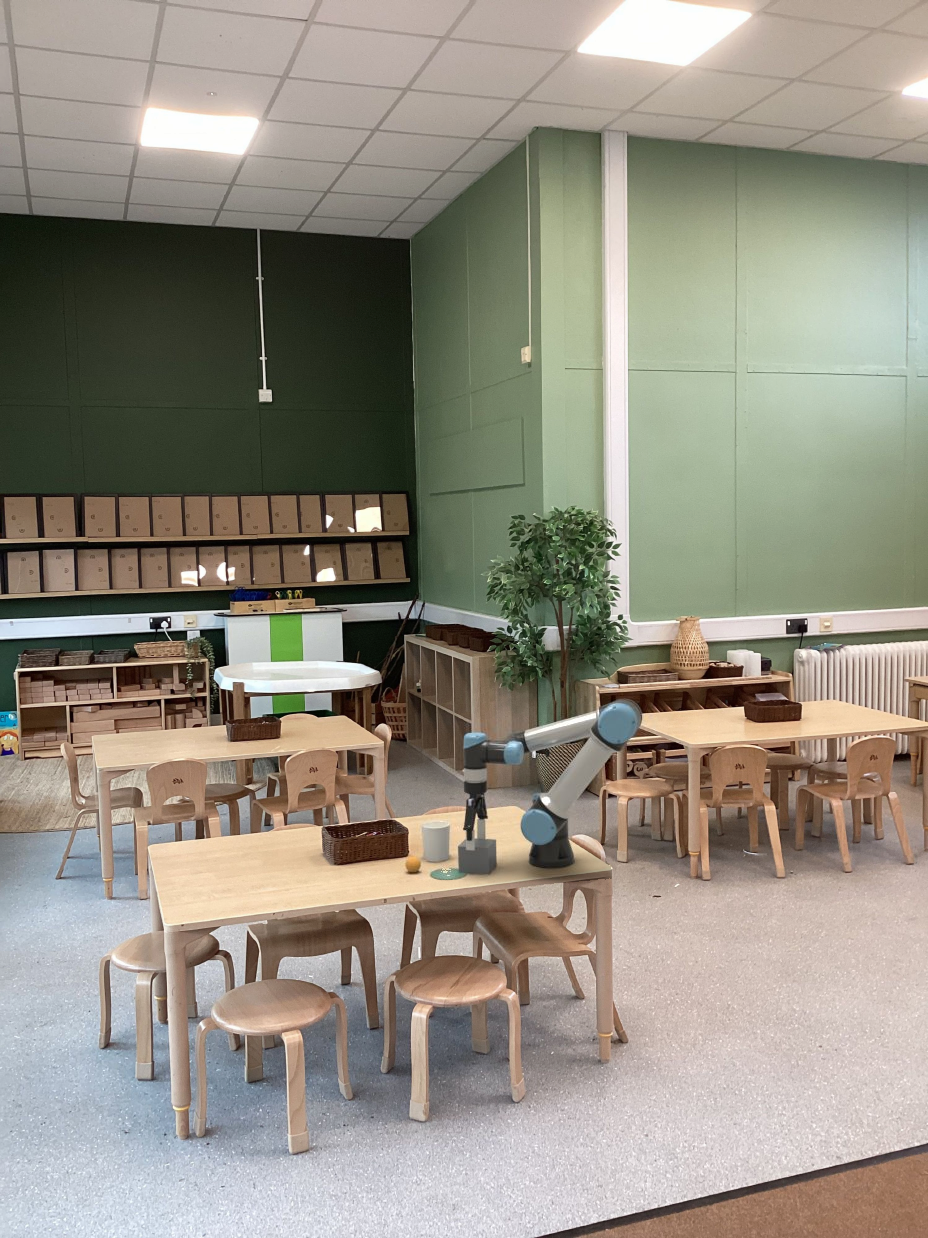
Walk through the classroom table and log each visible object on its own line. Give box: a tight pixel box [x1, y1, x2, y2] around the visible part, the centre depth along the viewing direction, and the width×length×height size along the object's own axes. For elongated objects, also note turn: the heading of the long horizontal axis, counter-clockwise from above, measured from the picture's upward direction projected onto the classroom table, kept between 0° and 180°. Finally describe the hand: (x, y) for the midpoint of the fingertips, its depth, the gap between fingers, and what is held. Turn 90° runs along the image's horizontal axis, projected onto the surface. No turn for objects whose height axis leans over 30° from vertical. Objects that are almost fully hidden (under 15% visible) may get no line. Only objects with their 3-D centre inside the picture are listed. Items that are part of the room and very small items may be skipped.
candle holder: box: [421, 820, 451, 863], centre depth 367 cm, size 10×10×12 cm
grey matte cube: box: [457, 837, 498, 876], centre depth 354 cm, size 10×10×9 cm
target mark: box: [429, 867, 468, 881], centre depth 350 cm, size 12×12×1 cm
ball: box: [405, 856, 422, 873], centre depth 353 cm, size 5×5×5 cm
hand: (475, 844), depth 354 cm, fingers open, 13 cm apart
